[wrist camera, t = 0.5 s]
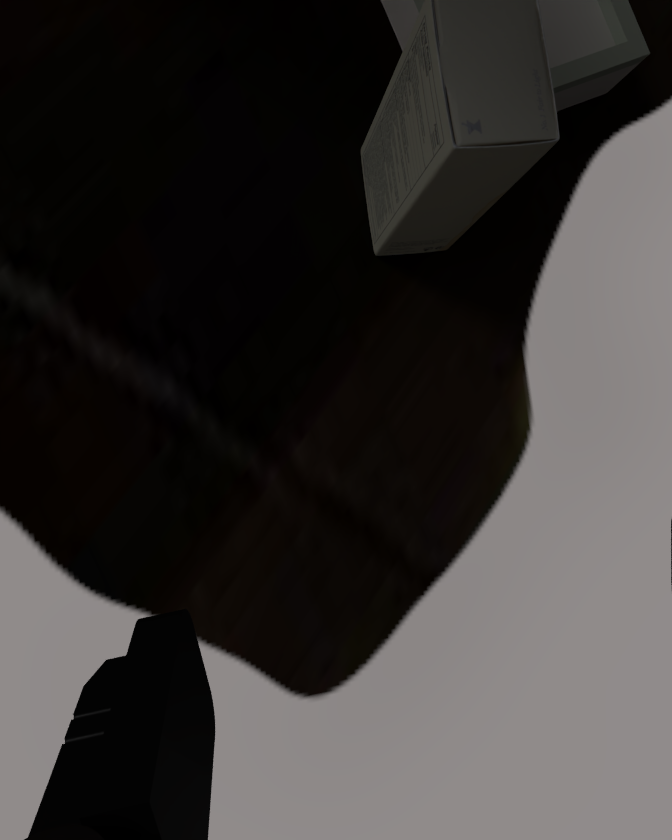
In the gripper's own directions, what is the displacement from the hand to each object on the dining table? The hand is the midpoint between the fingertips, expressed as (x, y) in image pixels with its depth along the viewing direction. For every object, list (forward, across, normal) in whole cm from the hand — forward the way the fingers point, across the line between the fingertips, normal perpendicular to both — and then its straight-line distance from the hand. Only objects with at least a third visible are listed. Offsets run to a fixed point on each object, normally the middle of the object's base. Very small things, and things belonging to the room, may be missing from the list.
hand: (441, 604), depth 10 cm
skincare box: (+28, -7, -7) cm, 29 cm away
